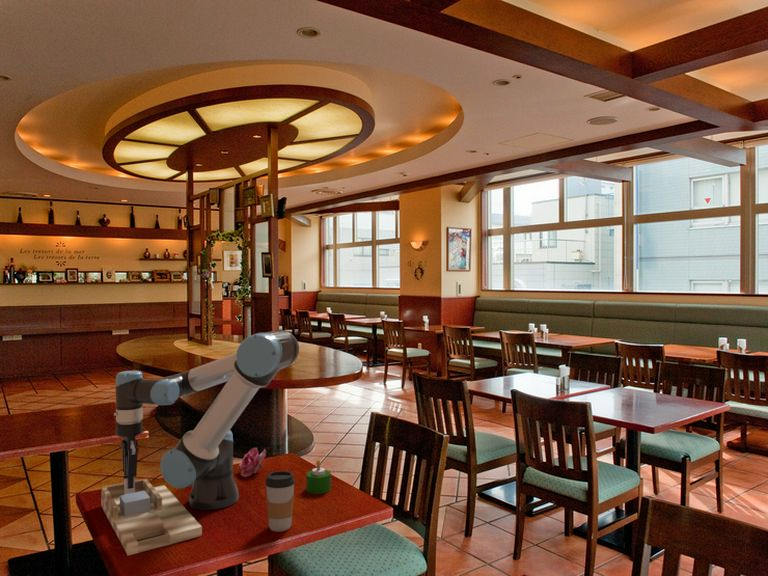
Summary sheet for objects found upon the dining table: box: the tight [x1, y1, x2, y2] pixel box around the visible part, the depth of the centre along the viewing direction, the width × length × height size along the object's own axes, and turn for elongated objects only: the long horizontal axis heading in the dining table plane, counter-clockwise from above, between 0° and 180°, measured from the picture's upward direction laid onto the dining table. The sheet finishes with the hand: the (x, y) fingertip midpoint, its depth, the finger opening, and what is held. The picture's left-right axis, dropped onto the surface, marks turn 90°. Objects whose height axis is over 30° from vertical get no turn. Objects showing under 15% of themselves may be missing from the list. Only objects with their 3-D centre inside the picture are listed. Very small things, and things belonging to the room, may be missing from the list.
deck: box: [100, 477, 203, 556], centre depth 162 cm, size 39×19×6 cm, turn 36°
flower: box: [239, 447, 267, 478], centre depth 203 cm, size 11×10×10 cm
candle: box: [305, 459, 332, 495], centre depth 187 cm, size 8×8×10 cm
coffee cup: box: [265, 470, 296, 533], centre depth 158 cm, size 8×8×15 cm
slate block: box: [120, 491, 150, 517], centre depth 163 cm, size 7×7×4 cm
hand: (129, 497), depth 169 cm, fingers closed
